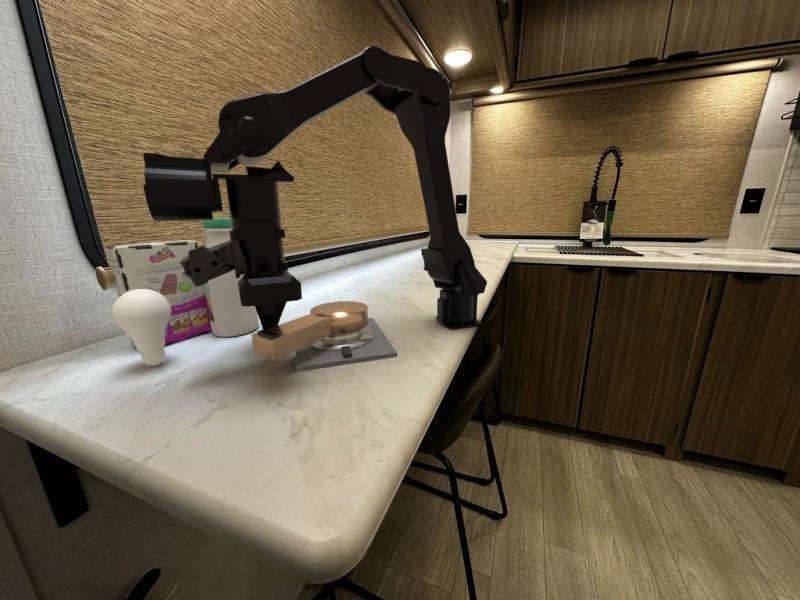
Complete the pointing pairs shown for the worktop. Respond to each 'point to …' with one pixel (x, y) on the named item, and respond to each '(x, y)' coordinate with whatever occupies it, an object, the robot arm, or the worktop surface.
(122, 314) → the lightbulb
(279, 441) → the worktop surface
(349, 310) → the door handle
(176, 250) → the candy bar box
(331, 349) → the white disc
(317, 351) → the mat
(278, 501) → the worktop surface
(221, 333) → the milk bottle
